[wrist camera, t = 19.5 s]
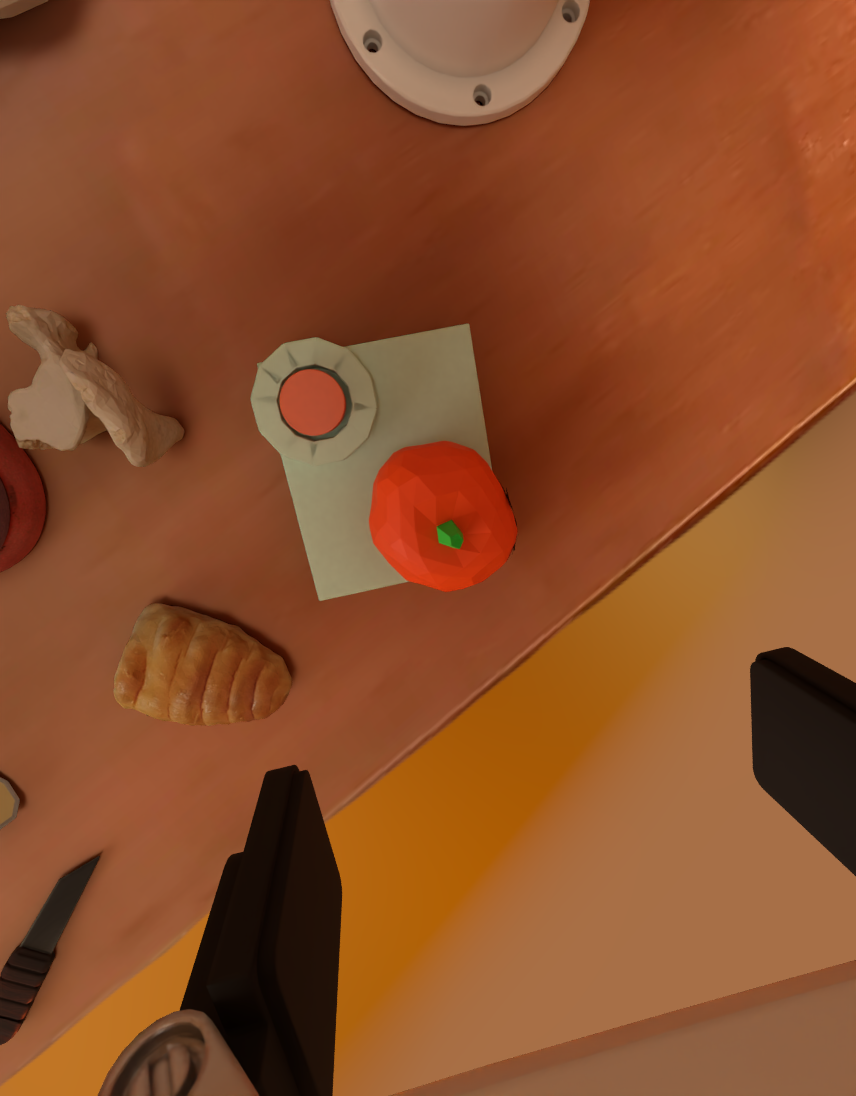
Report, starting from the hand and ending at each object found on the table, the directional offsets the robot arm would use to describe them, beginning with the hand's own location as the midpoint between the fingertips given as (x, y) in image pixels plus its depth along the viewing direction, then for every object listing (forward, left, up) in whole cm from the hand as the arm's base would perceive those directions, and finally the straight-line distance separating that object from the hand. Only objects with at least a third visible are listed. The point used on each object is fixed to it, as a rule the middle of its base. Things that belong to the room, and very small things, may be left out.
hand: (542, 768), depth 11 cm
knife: (+21, -32, -21) cm, 44 cm away
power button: (-8, -4, -18) cm, 21 cm away
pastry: (+5, -15, -22) cm, 26 cm away
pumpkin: (-2, +1, -20) cm, 20 cm away
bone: (-10, -15, -22) cm, 29 cm away
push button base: (-4, -1, -22) cm, 22 cm away
